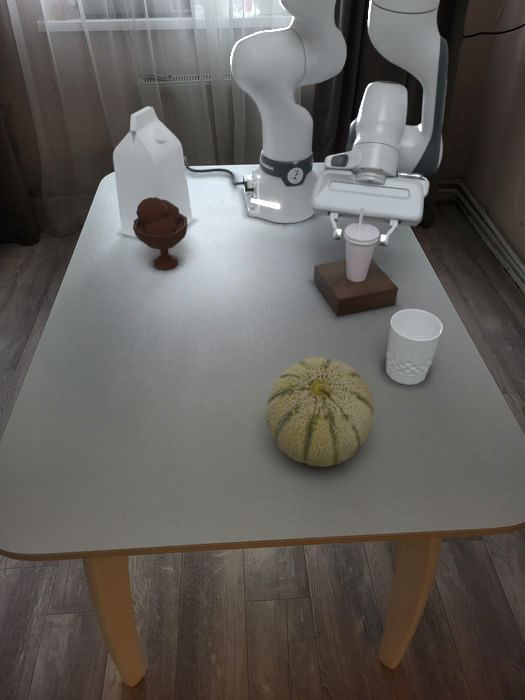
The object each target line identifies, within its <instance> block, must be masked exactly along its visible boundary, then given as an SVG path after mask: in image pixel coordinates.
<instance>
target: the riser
mask: <svg viewBox="0 0 525 700" xmlns="http://www.w3.org/2000/svg"><path fill="white" fill-rule="evenodd" d="M313 284H314V285H315V287H316V288H317V290H318V291H319V293H320V294H321V295H322V297H323V299H324V300H325V301H326V304H327V305H328V306H329V307H330V309H331V310H332V312H333V313H334V314H335V316H336V317H337V318H338V317H343V316H348V315H349V316H350V315H354V314H358V313H363V312H368V311H369V312H370V311H373V310H378V309H382V308H388V307H393V306H395V305H396V301H397V297H398V291H399V287H398V286H397V285H396V283H395V282H394V281H393V280H392V279H391V278H390V276H389V275H387V273H386V272H385V271H384V270H383V269H382V268H381V266H380V265H379V264H378V263H377V262H376V261H375V260H374V259H373V258H372V259H371V262H370V265H369V269H368V272H367V275H366V279H365V280H363V281H361V282H354V281H351V280H349V279H348V278H347V276H346V259H343V260H337V261H331V262H327V263H321V264H320V263H319V264H316V265H314V270H313Z"/></svg>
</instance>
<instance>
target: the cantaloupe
mask: <svg viewBox="0 0 525 700" xmlns="http://www.w3.org/2000/svg"><path fill="white" fill-rule="evenodd" d="M374 406H375V403H374V399H373V394H372V391H371V390H370V387H369V386H368V384H367V382H366V381H365V379H364V378H363V376H361V375H360V374H359V372H358V371H357V370H356V369H355V368H354V367H352V366H351V365H349V364H346V363H345V362H343V361H340V360H337V359H331V358H326V357H319V356H318V357H317V356H316V357H309V358H305V359H302V360H301V361H299V362H297V363H294V364H292V365H291V366H289V367H288V368H286V369H285V371H283V373H282V374H281V375H280V376H279V377H278V379H277V380H275V382H274V383H273V384H272V386H271V388H270V392H269V394H268V398H267V402H266V412H265V419H266V420H265V421H266V422H265V423H266V426H267V429H268V432H269V434H270V436H271V439H272V440H273V441H274V443H275V444H276V445H277V447H278V449H280V451H281V452H282V453H283V454H285V455H287V456H288V457H289V458H290V459H292V460H294V461H295V462H298V463H301V464H305V465H308V466H312V467H321V468H324V467H325V468H326V467H332V466H335V465H339V464H341V463H344V462H345V461H348V460H349V459H350V458H352V457H353V456H354V455H355V454H356V452H357V451H358V450H360V449H361V448H362V446H363V445H364V444H365V442H367V440H368V438H369V436H370V433H371V432H372V431H371V430H372V427H373V419H374V418H373V417H374V412H375V407H374Z"/></svg>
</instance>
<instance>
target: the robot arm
mask: <svg viewBox="0 0 525 700" xmlns="http://www.w3.org/2000/svg"><path fill="white" fill-rule="evenodd" d="M278 1H279V4H280V6H281V7H282V9H283V10H284V11H285V12H286V13H287V14H289V15H290V16H291V17H292V19H291V22H290V24H289V25H288V27H285V28H284V27H283V28H277V29H270V30H263V31H258V32H255V33H253V34H250V35H247V36H245V37H243V38H241V39H239V40H238V41H236V42H235V45H234V46H233V48H232V51H231V54H230V55H231V56H230V71H231V75H232V77H233V78H232V79H234V82H235V84H236V85H237V87H238V88H240V89H241V91H243V92H245V94H247V95H248V96H250V97H251V99H252V100H253V102H254V104H255V105H256V108H257V109H258V112H259V116H260V120H261V131H262V132H261V133H262V147H261V149H262V150H261V153H260V155H259V164H258V166H256V167H255V168H254V169H253V170H252V171H251V173H244V174H242V181H236V177H235V174H234V172H233V171H231V170H230V169H226V168H221V167H220V168H219V167H218V168H217V167H216V168H206V169H205V168H204V169H194V168H191V167H190V166H189V164H188V161H187V157H186V156H183V157H184V164H185V169H187V170H188V171H189V172H192V173H211V172H225V173H227V174H229V175H230V176H231V179H232V184H233V186H243V189H242V192H243V197H244V202H245V206H246V211H247V215H248V216H249V217H252V218H258V219H263V220H265V221H268V222H271V223H278V224H295V223H300V222H304V221H306V220H309V219H310V218H311V217H313V216H314V215H320V216H327V217H329V221H330V224H331V227H332V230H333V232H332V240H333V241H339V242H341V241H342V236H343V229H342V228H338V225H337V223H338V222H339V218H342V219H343V218H344V219H350V220H351V219H352V220H359V216H360V208H364V210H363V218H362V221H369V222H375V223H385V224H389V226H388V231H387V232H386V234H382V233H381V234H380V237H379V245H378V246H379V247H385V248H388V245H389V240H390V238H392V236H393V235H394V234H395V232H396V231H397V230H398V225H399V226H409V227H417V226H418V225H420V223H421V222H422V221H423V216H424V215H423V214H424V203H425V198H426V197H427V196H428V194H429V190H430V181H429V179H428V178H430V177H432V176H433V175H434V174H436V173H437V171H438V169H439V167H440V165H441V163H442V159H443V149H444V145H443V144H444V143H443V133H442V132H443V124H444V116H445V107H446V106H445V105H446V95H447V87H448V86H447V84H448V68H449V46H448V41H447V40H446V39H445V38H444V37H443V36H442V35H441V34H440V32H439V28H438V19H437V18H438V10H439V5H440V0H369V5H368V6H369V7H368V19H367V34H368V37H369V40H370V42H371V44H372V46H373V47H374V48H375V50H376V51H377V52H378V54H380V55H381V56H382V58H384V59H385V60H387V61H388V62H389V63H391V64H393V65H395V66H397V67H399V68H400V69H402V70H405V71H406V72H407V73H409V74H410V75H412V76H413V77H414V78H416V79H417V80H418V81H419V83H420V85H421V86H422V89H423V91H422V108H421V122H420V123H419V124H417V125H410V124H409V125H408V124H407V115H408V89H407V88H406V87H405V86H404V85H403V84H400V83H399V82H396V81H390V80H377V81H373V82H371V83H369V84H368V85H367V86H366V88H365V91H364V94H363V96H362V100H361V103H360V106H359V110H358V113H357V117H356V118H355V119H354V120H352V122H351V123H350V124H349V133H348V138H347V143H346V146H345V150H344V151H345V152H340V153H336V154H331V155H328V156H326V157H325V159H324V164H323V170H322V171H321V172H320V173H319V174H317V172H315V171H314V170H313V168H314V152H313V149H312V148H313V133H314V132H313V131H314V120H313V117H312V115H311V114H310V112H309V111H308V110H307V108H305V107H304V106H302V105H300V104H298V103H296V100H295V89H296V88H301V87H305V86H310V85H318V84H320V83H323V82H325V81H327V80H330V79H331V78H333V77H335V76H337V75H339V74H340V73H341V72H342V71H343V68H344V66H345V63H346V60H347V53H348V51H347V50H348V49H347V43H346V39H345V37H344V35H343V33H342V31H341V30H340V29H339V28H338V27H337V25H336V22H335V9H336V3H337V0H278Z"/></svg>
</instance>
